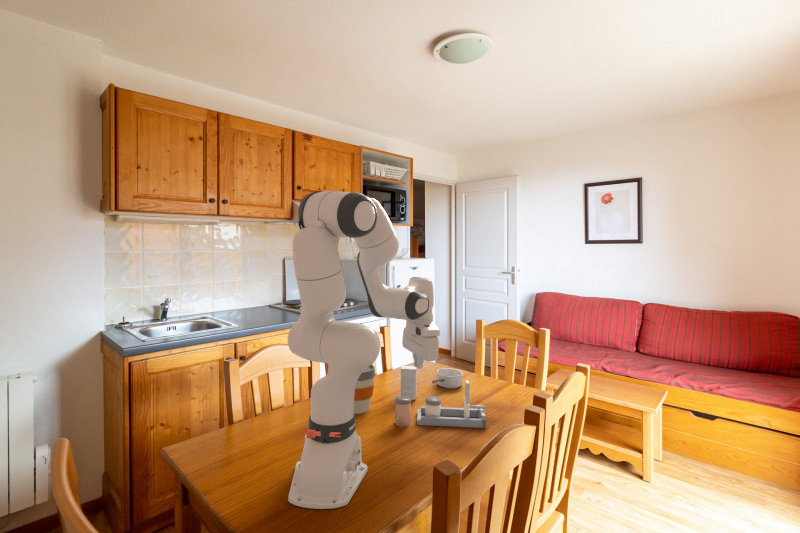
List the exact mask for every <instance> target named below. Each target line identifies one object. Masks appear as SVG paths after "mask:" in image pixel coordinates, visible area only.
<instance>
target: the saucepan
mask: <svg viewBox="0 0 800 533" xmlns="http://www.w3.org/2000/svg"><path fill="white" fill-rule="evenodd" d="M435 372H436V379H434V380H432V381H431V383H432V384H436V383H437V385H439V386H440V387H442V388H444V389H457V388H459V387H462V385H463V375H464V372H463V371H462V370H460V369H457V368H448V367H445V368H444V367H443V368H438V369H437V370H436V371H435Z"/></svg>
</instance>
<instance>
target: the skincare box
mask: <svg viewBox="0 0 800 533" xmlns="http://www.w3.org/2000/svg"><path fill="white" fill-rule="evenodd" d="M417 371H418V368H417V367H415V366H414V365H401V368H400V396H408V397H410V398H411V401H414V400H415V401H416V399H417V393H418V392H417V389H418V388H417V380H418V379H417V374H418V373H417Z"/></svg>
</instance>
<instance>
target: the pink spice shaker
mask: <svg viewBox="0 0 800 533" xmlns="http://www.w3.org/2000/svg"><path fill="white" fill-rule="evenodd" d="M394 399H395V401H394V402H395V407H394V408H395V409H394V410H395V413H394V414H395V415H394V417H395V418H394V422H395V424H394V425H396V426H397V427H400V428H407V427H409V426H410V425H411V410H412V408H411V404H412V403H411V402H412V400H411V398H410V397H408V396H401V395H399V396H396V397H395V398H394Z"/></svg>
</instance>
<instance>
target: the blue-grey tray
mask: <svg viewBox="0 0 800 533" xmlns="http://www.w3.org/2000/svg"><path fill="white" fill-rule="evenodd" d="M478 405H479V406H483V405H482V404H478ZM486 419H487V418H486V413H485V409H476V408H470V414H469V418H464V407H449V406H448V407H445V406H444V407H443V406H441V415H440V417H435V416H425V405H424V406H420V408H417V418H416V425H417V426H437V427H457V428H481V429H482V428H483V429H486V423H487V422H486Z"/></svg>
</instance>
